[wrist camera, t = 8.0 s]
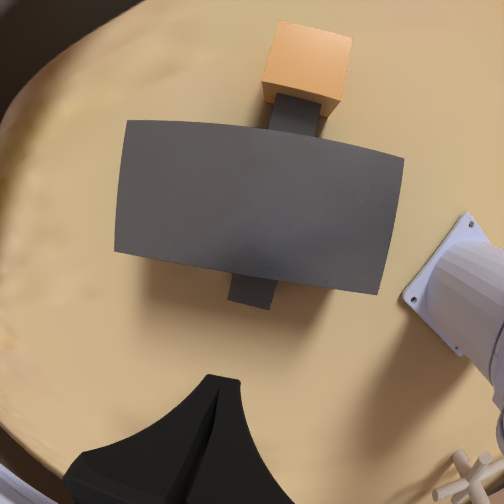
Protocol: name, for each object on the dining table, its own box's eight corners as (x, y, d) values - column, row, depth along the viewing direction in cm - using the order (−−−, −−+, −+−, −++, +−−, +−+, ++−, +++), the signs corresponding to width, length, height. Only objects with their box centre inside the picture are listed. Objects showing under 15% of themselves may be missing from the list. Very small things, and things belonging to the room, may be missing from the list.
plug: (281, 297, 19) (281, 324, 15) (222, 282, 19) (209, 306, 16) (338, 64, 16) (352, 38, 12) (278, 50, 16) (278, 20, 12)
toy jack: (414, 485, 24) (432, 540, 14) (434, 443, 22) (463, 508, 12) (474, 461, 23) (498, 507, 13) (499, 415, 21) (534, 465, 11)
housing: (345, 258, 18) (377, 295, 12) (163, 229, 19) (114, 251, 13) (362, 166, 17) (404, 158, 11) (174, 138, 17) (127, 120, 11)
